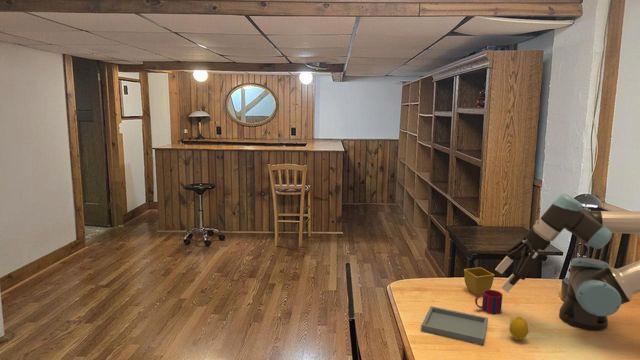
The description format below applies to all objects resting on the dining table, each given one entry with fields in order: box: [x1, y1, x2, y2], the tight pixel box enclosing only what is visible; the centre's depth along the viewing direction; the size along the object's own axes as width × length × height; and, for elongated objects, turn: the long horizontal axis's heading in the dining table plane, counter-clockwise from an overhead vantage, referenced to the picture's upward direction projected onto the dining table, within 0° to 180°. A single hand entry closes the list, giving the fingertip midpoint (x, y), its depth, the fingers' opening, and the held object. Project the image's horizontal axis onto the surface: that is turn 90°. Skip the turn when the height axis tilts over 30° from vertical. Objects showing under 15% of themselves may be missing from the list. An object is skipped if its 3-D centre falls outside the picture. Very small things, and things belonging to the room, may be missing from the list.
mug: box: [474, 289, 504, 315], centre depth 169 cm, size 7×10×7 cm
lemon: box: [509, 316, 529, 341], centre depth 148 cm, size 6×6×8 cm
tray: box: [420, 305, 489, 346], centre depth 156 cm, size 20×16×2 cm
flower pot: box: [463, 267, 495, 296], centre depth 184 cm, size 9×9×9 cm
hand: (501, 280), depth 158 cm, fingers open, 13 cm apart
